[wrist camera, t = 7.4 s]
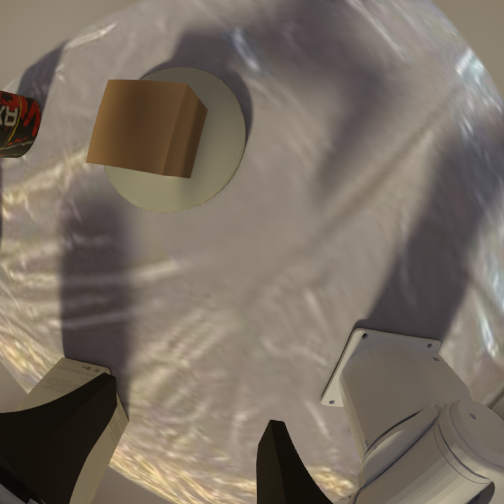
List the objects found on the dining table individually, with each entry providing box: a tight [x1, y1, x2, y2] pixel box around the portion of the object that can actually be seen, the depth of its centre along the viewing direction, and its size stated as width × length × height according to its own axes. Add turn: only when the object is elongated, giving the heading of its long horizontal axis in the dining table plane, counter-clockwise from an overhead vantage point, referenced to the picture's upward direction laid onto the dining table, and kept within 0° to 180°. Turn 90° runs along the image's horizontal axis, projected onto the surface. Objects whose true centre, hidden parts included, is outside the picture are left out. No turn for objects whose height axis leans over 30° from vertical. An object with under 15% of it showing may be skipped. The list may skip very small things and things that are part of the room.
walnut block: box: [86, 80, 208, 178], centre depth 14 cm, size 4×4×5 cm
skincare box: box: [13, 358, 129, 504], centre depth 16 cm, size 8×7×16 cm
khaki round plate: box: [104, 67, 246, 213], centre depth 17 cm, size 10×10×2 cm
